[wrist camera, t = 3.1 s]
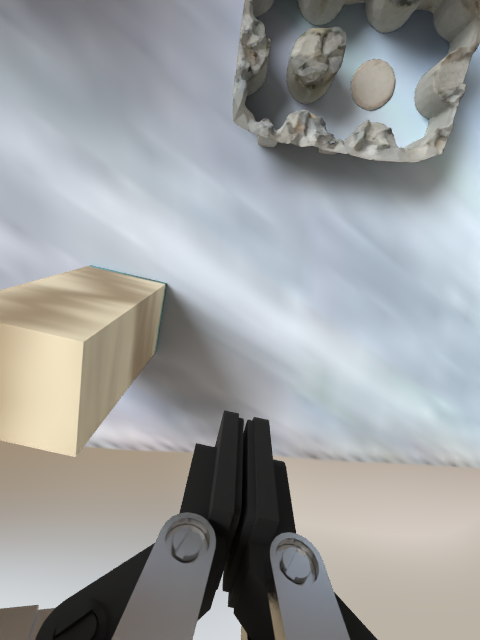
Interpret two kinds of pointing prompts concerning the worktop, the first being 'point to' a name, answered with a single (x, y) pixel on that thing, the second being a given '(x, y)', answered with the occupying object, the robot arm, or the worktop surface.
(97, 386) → the maple block
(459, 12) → the egg carton
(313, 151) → the worktop surface
